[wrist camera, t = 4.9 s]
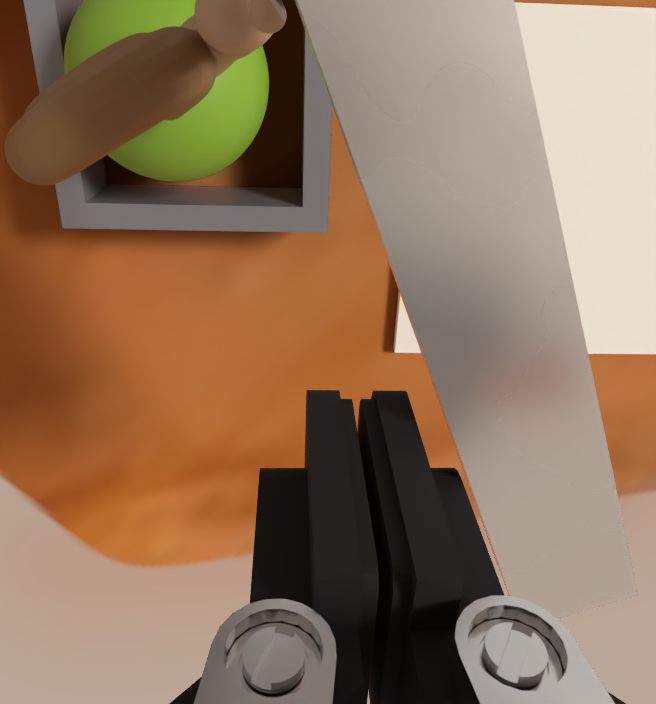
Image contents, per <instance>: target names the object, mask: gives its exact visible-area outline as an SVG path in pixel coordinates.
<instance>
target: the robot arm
mask: <svg viewBox="0 0 656 704" xmlns="http://www.w3.org/2000/svg"><path fill="white" fill-rule="evenodd" d="M368 689H369V697H370V704H625V703H624V702H622V701H621V700H619V699H618V698H616V697H615V696H613V695H612V694H610V693H609V692H607V690H606V688H605V687H604V685H603V684H602V682H601V681H600V679H599V677H598V676H597V674H596V673H595V671H594V669H593V668H592V666H591V665H590V663H589V661H588V660H587V658H586V657H585V655H584V653H583V652H582V650H581V649H580V647H579V645H578V644H577V642H576V641H575V639H574V637H573V636H572V635H571V633H570V632H569V631H568V630H567V628H566V627H565V626H564V625H563V624H562V622H561V621H560V620H559V619H557V618H556V617H555V616H553V615H552V614H551V613H550V612H548V611H547V610H546V609H544V608H542V607H540V606H538V605H536V604H534V603H532V602H530V601H528V600H525V599H521V598H517V597H513V596H508V595H504V593H503V590H502V588H501V585H500V582H499V580H498V577H497V574H496V572H495V569H494V566H493V564H492V561H491V558H490V556H489V553H488V550H487V548H486V545H485V542H484V540H483V537H482V534H481V531H480V528H479V526H478V523H477V520H476V518H475V515H474V512H473V509H472V507H471V504H470V501H469V499H468V496H467V493H466V491H465V488H464V485H463V482H462V480H461V477H460V475H459V473H458V471H457V470H456V469H455V468H430V465H429V462H428V459H427V455H426V452H425V449H424V446H423V442H422V439H421V436H420V433H419V430H418V426H417V423H416V420H415V417H414V413H413V410H412V407H411V404H410V401H409V397H408V394H407V392H406V391H373V393H372V397H371V399H361V400H360V406H359V420H358V433H357V428H356V421H355V415H354V408H353V402H352V399H340V392H339V391H336V390H307V397H306V435H305V468H260V474H259V487H258V500H257V514H256V527H255V541H254V554H253V568H252V582H251V596H250V604H248V605H246V606H244V607H243V608H241V609H240V610H237V611H236V612H234V613H232V615H231V616H230V617H229V618H228V619H227V620H226V621H225V622H224V623H223V624H222V625H221V626H220V628H219V630H218V632H217V634H216V636H215V638H214V640H213V642H212V644H211V648H210V651H209V654H208V658H207V661H206V664H205V668H204V671H203V674H202V677H201V678H200V679H198V680H197V681H196V682H195V683H194V684H192V685H191V686H190V687H189V688H188V689H186V690H185V691H184V692H183V693H182V694H181V695H179V696H178V697H177V698H176V699H175V700H173V702H171V703H170V704H367V696H368Z"/></svg>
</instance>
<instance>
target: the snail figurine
mask: <svg viewBox="0 0 656 704" xmlns="http://www.w3.org/2000/svg"><path fill="white" fill-rule="evenodd" d="M286 18H287V14H286V10H285V7H284V5H283V3H282V1H281V0H84V1H83V2H82V3H81V5H80V6H79V8H78V10H77V11H76V13H75V15H74V17H73V19H72V22H71V24H70V27H69V30H68V34H67V38H66V43H65V50H64V74H65V75H63V76H62V77H60V78H59V79H58V80H56V81H55V82H54V83H52V84H51V85H50V86H49V87H47V88H46V89H45V90H44V91H42V92H41V93H40V94H39V95H38V96H37V97H36V98H35V99H34V100H33V101H32V102H31V103H30V104H29V105H28V106H27V108H26V109H25V112H24V115H23V116H22V117H21V118H20V119H19V120H18V121H17V122H16V123H15V124H14V125H13V126H12V128H11V129H10V130H9V132H8V133H7V136H6V139H5V142H4V152H5V158H6V161H7V163H8V164H9V166H10V168H11V169H12V171H13V172H14V173H15V174H16V175H17V176H19V177H20V178H21V179H23V180H24V181H26V182H28V183H31V184H34V185H39V186H49V185H54V184H57V183H59V182H61V181H64V180H66V179H67V178H69V177H71V176H73V175H75V174H77V173H78V172H80V171H82V170H83V169H85V168H87V167H88V166H90V165H92V164H93V163H95V162H97V161H98V160H100V159H101V158H103V157H105V156H106V155H108V156H109V157H110V158H112V159H113V160H114V161H116V162H117V163H119V164H120V165H122V166H123V167H125V168H127V169H129V170H131V171H133V172H135V173H137V174H140V175H142V176H145V177H148V178H152V179H156V180H161V181H170V182H184V181H192V180H197V179H201V178H205V177H208V176H210V175H213V174H215V173H217V172H219V171H221V170H223V169H224V168H226V167H227V166H229V165H230V164H232V163H233V162H234V161H235V160H237V159H238V158H239V157H240V156H241V155H242V154H243V153H244V152H245V150H246V149H247V148H248V147H249V145H250V144H251V143H252V141H253V140H254V138H255V136H256V134H257V133H258V131H259V128H260V126H261V124H262V121H263V118H264V115H265V112H266V107H267V102H268V94H269V74H268V66H267V60H266V56H265V52H264V49H263V46H262V45H263V44H264V43H265V42H266V41H267V40H268V39H269V38H270V37H271V36H272V34H273V33H275V32H277V31H279V30H280V29H281V28H282V27H283V26H284V24H285V21H286Z"/></svg>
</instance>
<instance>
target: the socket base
mask: <svg viewBox="0 0 656 704" xmlns="http://www.w3.org/2000/svg"><path fill="white" fill-rule="evenodd" d="M23 1H24V7H25V12H26V18H27V24H28V30H29V36H30V42H31V47H32V53H33V59H34V65H35V71H36V77H37V82H38V88H39V94H40V93H41V92H42V91H44V90H45V89H46V88H47V87H49V86H50V85H51V84H52V83H54V82H55V81H56V80H58V79H59V78H60V77H62V76H63V75H65V74H64V50H65V43H66V38H67V34H68V30H69V27H70V24H71V22H72V19H73V17H74V15H75V13H76V11H77V10H78V8H79V6H80V5H81V3H82V2H83V0H23ZM331 124H332V103H331V100H330V97H329V94H328V92H327V89H326V86H325V83H324V81H323V78H322V75H321V72H320V69H319V67H318V64H317V61H316V58H315V55H314V53H313V50H312V47H311V44H310V42H309V39H308V36H307V33H306V30H305V28H304V61H303V137H302V188H265V187H219V186H172V185H126V184H107V181H106V173H105V165H104V158H101V159H100V160H98V161H97V162H95V163H93V164H92V165H90V166H88V167H87V168H85V169H83V170H82V171H80V172H78V173H77V174H75V175H73V176H71V177H69V178H67V179H66V180H64V181H61V182H59V183H57V184H55V187H56V193H57V199H58V205H59V210H60V216H61V222H62V228H74V229H132V230H190V231H248V232H306V233H328V213H329V183H330V154H331Z"/></svg>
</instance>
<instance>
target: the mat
mask: <svg viewBox="0 0 656 704" xmlns="http://www.w3.org/2000/svg"><path fill="white" fill-rule="evenodd" d="M515 7H516V12H517V16H518V21H519V26H520V31H521V35H522V40H523V45H524V50H525V55H526V59H527V64H528V69H529V74H530V79H531V83H532V88H533V93H534V98H535V102H536V107H537V112H538V117H539V122H540V126H541V131H542V136H543V141H544V146H545V150H546V155H547V160H548V165H549V169H550V174H551V179H552V184H553V189H554V193H555V198H556V203H557V208H558V213H559V217H560V222H561V227H562V232H563V236H564V241H565V246H566V251H567V256H568V260H569V265H570V270H571V275H572V280H573V284H574V289H575V294H576V299H577V303H578V308H579V313H580V318H581V323H582V327H583V332H584V337H585V342H586V347H587V351H588V354H656V8H639V7H615V6H590V5H565V4H540V3H516V2H515ZM393 349H394V352H395V353H421V351H420V348H419V345H418V342H417V339H416V337H415V334H414V331H413V328H412V326H411V323H410V320H409V317H408V314H407V312H406V309H405V306H404V303H403V300H402V298H401V295H400V292H398V303H397V313H396V324H395V335H394V346H393Z"/></svg>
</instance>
